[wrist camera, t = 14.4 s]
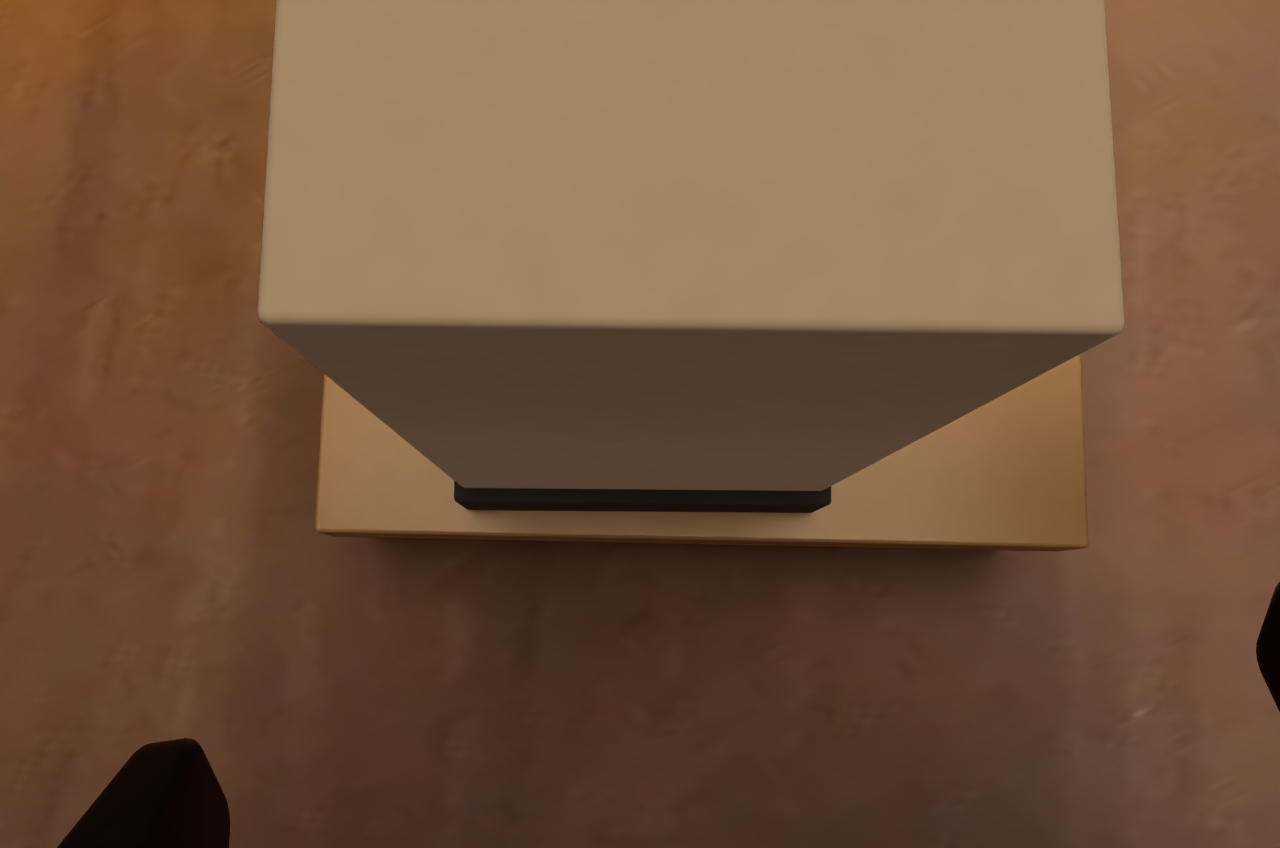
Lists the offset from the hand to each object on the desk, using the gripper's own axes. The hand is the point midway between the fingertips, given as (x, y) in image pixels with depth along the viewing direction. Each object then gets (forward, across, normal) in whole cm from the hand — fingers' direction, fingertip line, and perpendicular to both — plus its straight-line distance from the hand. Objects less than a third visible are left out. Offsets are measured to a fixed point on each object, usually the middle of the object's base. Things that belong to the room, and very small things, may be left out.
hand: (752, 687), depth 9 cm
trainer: (+11, 0, 0) cm, 11 cm away
